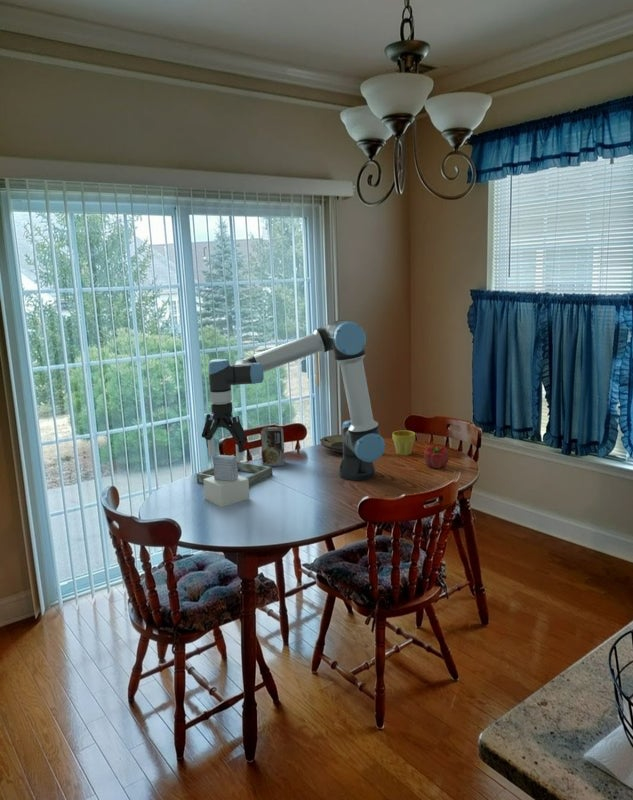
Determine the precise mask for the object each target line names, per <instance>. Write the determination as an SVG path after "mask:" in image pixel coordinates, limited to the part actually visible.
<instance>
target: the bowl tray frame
mask: <svg viewBox="0 0 633 800" xmlns="http://www.w3.org/2000/svg"><path fill="white" fill-rule="evenodd" d="M237 468H238V471H241V472H246V473H247V472H248V473H252V474H251V475H248V476H246V477H245V478H247V479H248V481H249V487H251V486H253V485H255V484H257V483H259V482H261V481H263V480H265V479H267V478H268V479H269V478H270V477H272V476H273V467H272V466H263V464H255V463H250V462H246V461H245V462H244V461H239V462H237ZM213 476H214V468H213V467H209V468H208V469H204V470H202V471H200V472H196V482H197V483H201V484H204V480H203V479H206V478H209V477H213Z"/></svg>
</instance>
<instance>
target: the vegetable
mask: <svg viewBox="0 0 633 800" xmlns="http://www.w3.org/2000/svg"><path fill="white" fill-rule="evenodd" d="M423 458H424V462H425V464H426V466H427V467H428V468H433V469H435V468H438V469H440V468H445V467H446V466H447V465H448V462H449V459H450V453H449V450H448V449H447V447H445V446H440V445H435V444H433V445H431V446H429V447H426V448H425V449H424V451H423ZM444 466H445V467H444Z"/></svg>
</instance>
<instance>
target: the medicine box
mask: <svg viewBox="0 0 633 800" xmlns="http://www.w3.org/2000/svg"><path fill="white" fill-rule="evenodd" d="M212 466H213V468H214V480H223V481H234V480H236V479H237V478H238V475H239V472H238V471H239V470H238V468H237V458H236V455H229V454H228V455H227V454H217V455H215V456H213V457H212Z"/></svg>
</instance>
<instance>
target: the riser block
mask: <svg viewBox="0 0 633 800" xmlns="http://www.w3.org/2000/svg"><path fill="white" fill-rule="evenodd" d="M203 480H204V483H203V491H204V499H205V500H206V501H208V502H210V503H212V504H215V505H217V506H219V507H220V508H224V507H227V506H231V505H234V504H236V503H237V504H238V503H239V502H245V501H247V500H250V486H249V481H248V479H247V478H246V477H244V476H241V474H238V478H237V479H236V480H234V481H223V480H214V476H213V477H209V478H206V479H203Z"/></svg>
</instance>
